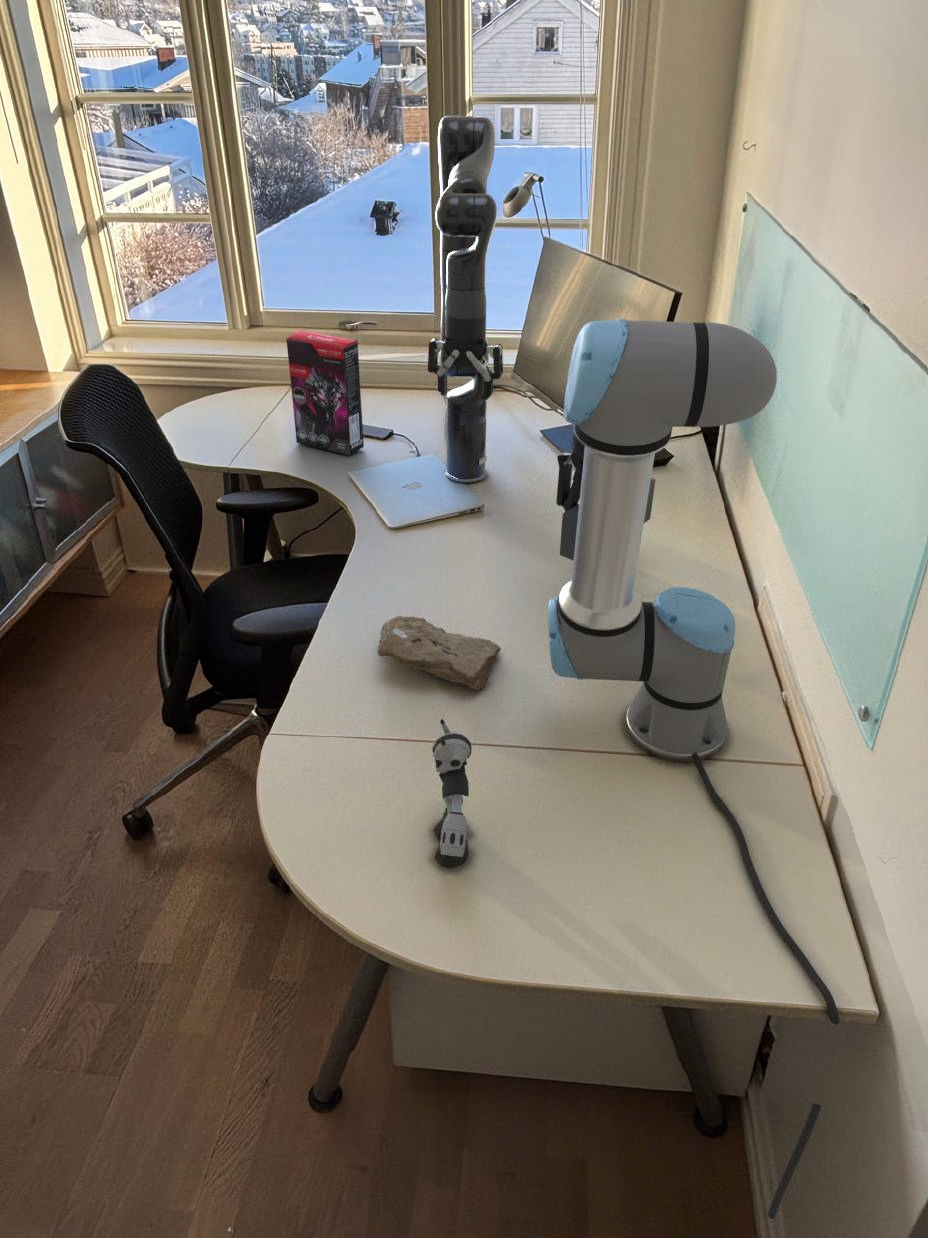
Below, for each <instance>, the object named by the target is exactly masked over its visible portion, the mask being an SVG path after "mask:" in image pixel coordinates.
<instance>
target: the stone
mask: <svg viewBox="0 0 928 1238" xmlns="http://www.w3.org/2000/svg"><path fill="white" fill-rule="evenodd" d="M381 626H382V627H381V630H380V639H379V645H378V648H377V653H378V656H380V657H391V658H394V659H395V660H397V662H398V663H399V664H400V665H403V666H407V667H408V666H409V667H411V668H412V669H415V670H419V671H425V672H426V673H429V674H431V675H435V676H436V677H439V678H441V679H444V680H446V681H448V682H450V683H456V684H463V685H466V686H467V687H468V688H470V689H472V690H475V691H480V690H482V689H483V688H484V686H485V685H486V682H487V681H488V678H489V677H490V676H489V675H490V674H489V672H490V670H491V668H492V666H493V664H494V662H495V660H496V658H497V656H498V653H500V651H501V650H502V648H501V647H500V646H499V645H498V644H496V643H495V642H492V641H491V640H490V639H485V638H481V637H473V636H466V635H463V634H461V633H452V632H446V631H445V629H443V628H442V627H436V626H434V624H433V623H431V622H429V621H427V620H426V619H425V618H424V617H416V616H402V615H398V616H395V617H392V618H391V619H389V620H387V621H385V622H384V623H383V625H381Z"/></svg>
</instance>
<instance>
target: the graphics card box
mask: <svg viewBox="0 0 928 1238" xmlns="http://www.w3.org/2000/svg"><path fill="white" fill-rule="evenodd" d="M285 341H286V348H287V349H286V350H287V359H288V369H289V378H290V389H291V398H292V408H293V420H294V428H295V441H296V444H300V445H304V446H309V447H314V448H317V449H321V450H326V451H330V452H334V453H340V454H343V455H348V456H351V455H353V454H354V453H356V452H358V451H359V450H361V449H363V448H364V445H365V443H364V428H363V427H364V426H363V424H364V423H363V411H362V409H363V408H362V396H361V377H360V361H359V341H358V339H350V338H343V337H339V336H333V335H330V334H329V335H328V334H324V333H318V332H313V331H312V332H311V331H306V330H298V331H295V332H293V333H292V334H290V335H289V336H288V337H286V340H285Z"/></svg>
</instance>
